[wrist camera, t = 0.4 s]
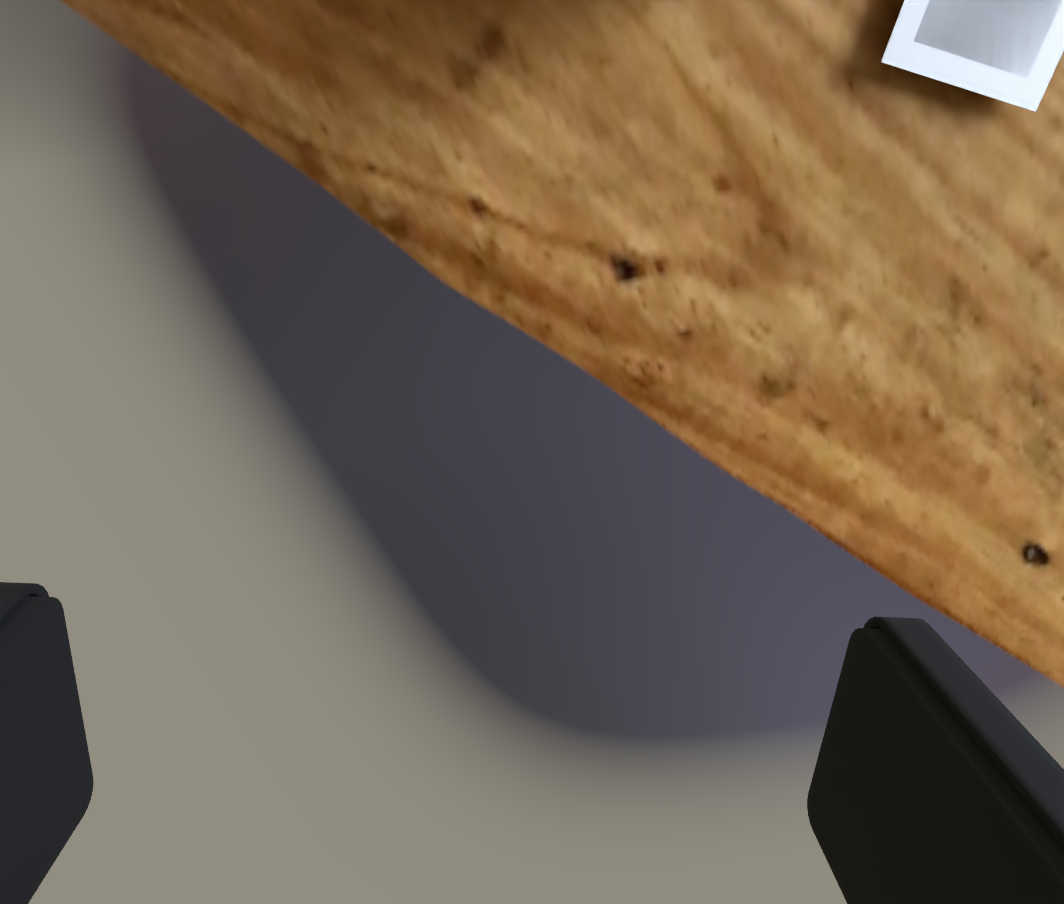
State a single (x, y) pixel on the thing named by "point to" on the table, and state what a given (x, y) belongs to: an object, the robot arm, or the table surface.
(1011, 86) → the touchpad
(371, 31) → the table surface
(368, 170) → the table surface
